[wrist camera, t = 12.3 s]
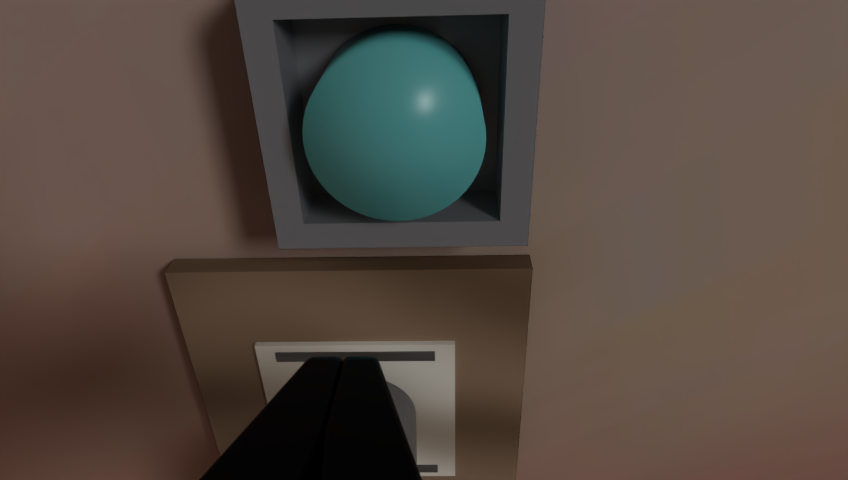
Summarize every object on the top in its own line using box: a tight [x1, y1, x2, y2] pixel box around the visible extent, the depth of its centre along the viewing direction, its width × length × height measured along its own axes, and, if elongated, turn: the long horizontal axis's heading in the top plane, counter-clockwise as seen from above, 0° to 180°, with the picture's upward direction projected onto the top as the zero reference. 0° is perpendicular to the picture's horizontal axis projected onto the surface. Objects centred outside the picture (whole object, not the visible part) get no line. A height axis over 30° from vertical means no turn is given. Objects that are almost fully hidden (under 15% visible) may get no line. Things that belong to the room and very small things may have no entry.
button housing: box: [234, 0, 546, 249], centre depth 16 cm, size 7×7×3 cm
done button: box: [302, 24, 486, 221], centre depth 16 cm, size 4×4×2 cm
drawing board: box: [165, 255, 533, 480], centre depth 23 cm, size 13×12×1 cm
